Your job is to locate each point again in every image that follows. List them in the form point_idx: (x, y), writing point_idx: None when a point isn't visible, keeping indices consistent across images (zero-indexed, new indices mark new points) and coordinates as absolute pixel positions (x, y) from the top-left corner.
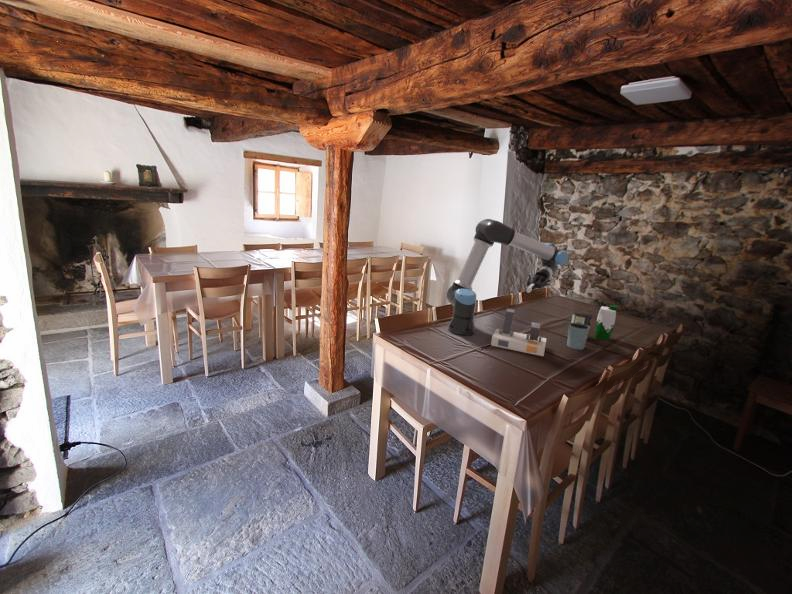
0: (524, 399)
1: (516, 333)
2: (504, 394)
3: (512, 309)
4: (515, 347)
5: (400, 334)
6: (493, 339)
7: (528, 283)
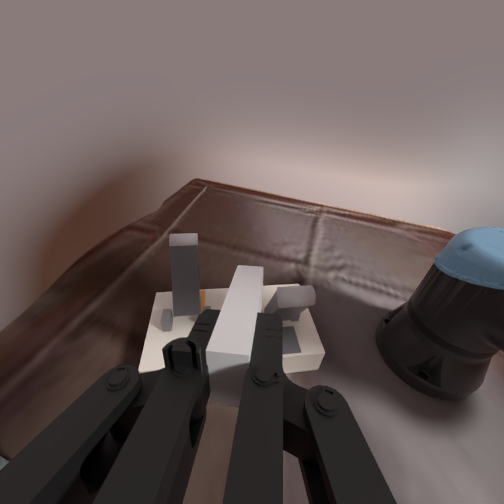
0: (197, 194)
1: None
2: (219, 193)
3: (289, 288)
4: None
5: None
6: None
7: (305, 391)
